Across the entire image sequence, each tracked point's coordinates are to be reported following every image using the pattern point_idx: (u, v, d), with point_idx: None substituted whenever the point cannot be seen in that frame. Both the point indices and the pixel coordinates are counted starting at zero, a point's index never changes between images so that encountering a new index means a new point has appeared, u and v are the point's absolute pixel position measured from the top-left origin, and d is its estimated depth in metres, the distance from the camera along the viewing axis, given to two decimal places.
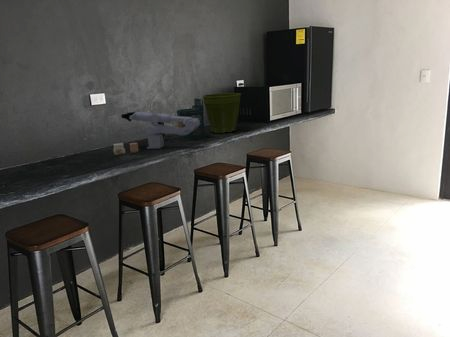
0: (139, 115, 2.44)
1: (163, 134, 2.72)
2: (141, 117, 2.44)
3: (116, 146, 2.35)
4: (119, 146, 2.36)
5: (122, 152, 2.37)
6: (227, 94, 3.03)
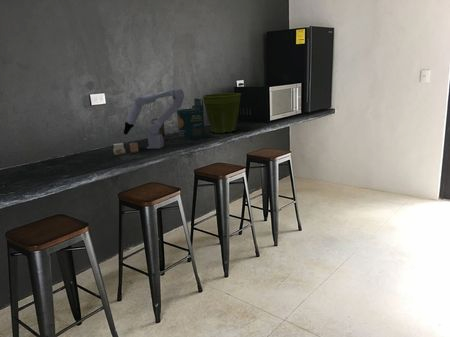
0: (131, 116, 2.39)
1: (163, 134, 2.72)
2: (134, 114, 2.39)
3: (116, 146, 2.35)
4: (119, 146, 2.36)
5: (122, 152, 2.37)
6: (227, 94, 3.03)
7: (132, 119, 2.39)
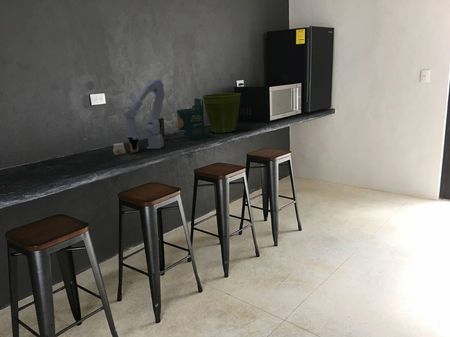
0: (131, 131, 2.37)
1: (163, 134, 2.72)
2: (132, 128, 2.36)
3: (116, 146, 2.35)
4: (119, 146, 2.36)
5: (122, 152, 2.37)
6: (227, 94, 3.03)
7: (133, 133, 2.37)
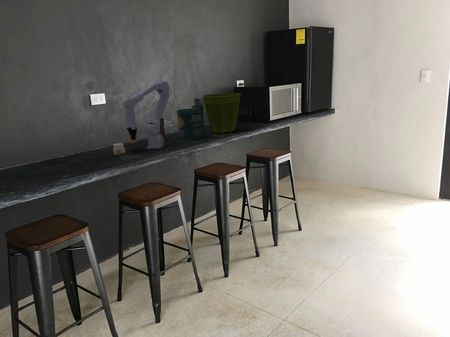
0: (129, 121, 2.35)
1: (163, 134, 2.72)
2: (131, 118, 2.35)
3: (116, 146, 2.35)
4: (119, 146, 2.35)
5: (122, 152, 2.37)
6: (227, 94, 3.03)
7: (132, 123, 2.36)
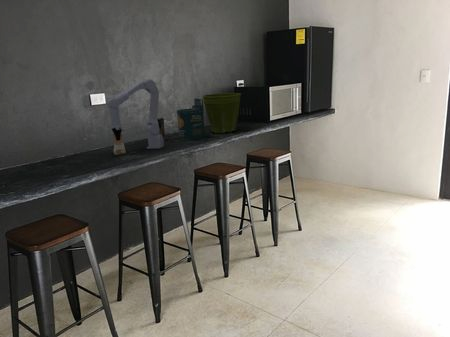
0: (114, 121, 2.31)
1: (163, 134, 2.72)
2: (116, 118, 2.31)
3: (117, 146, 2.35)
4: (120, 146, 2.36)
5: (122, 152, 2.37)
6: (227, 94, 3.03)
7: (117, 123, 2.32)
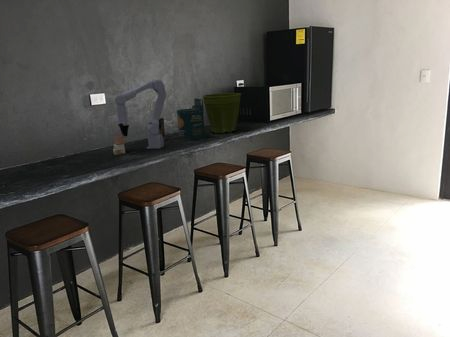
0: (121, 117, 2.35)
1: (163, 134, 2.72)
2: (122, 114, 2.35)
3: (117, 146, 2.35)
4: (120, 146, 2.36)
5: (122, 152, 2.37)
6: (227, 94, 3.03)
7: (124, 119, 2.36)
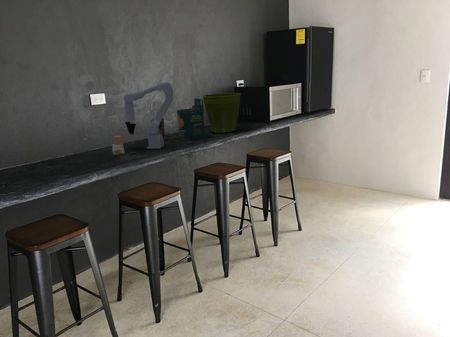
0: (128, 115, 2.40)
1: (163, 134, 2.72)
2: (130, 113, 2.40)
3: (116, 146, 2.34)
4: (119, 146, 2.35)
5: (121, 152, 2.37)
6: (227, 94, 3.03)
7: (131, 117, 2.41)
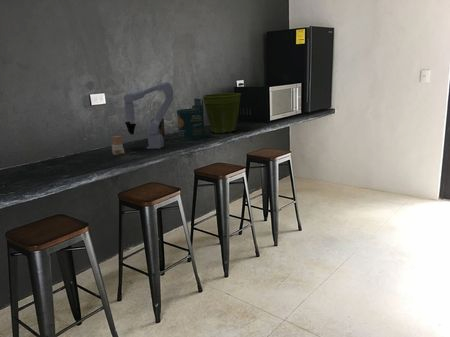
0: (128, 115, 2.40)
1: (163, 134, 2.72)
2: (130, 113, 2.40)
3: (115, 146, 2.34)
4: (118, 146, 2.35)
5: (121, 152, 2.36)
6: (227, 94, 3.03)
7: (131, 117, 2.41)
